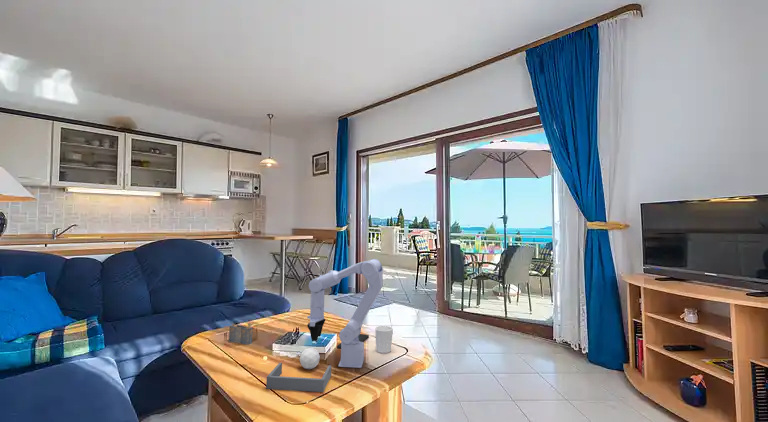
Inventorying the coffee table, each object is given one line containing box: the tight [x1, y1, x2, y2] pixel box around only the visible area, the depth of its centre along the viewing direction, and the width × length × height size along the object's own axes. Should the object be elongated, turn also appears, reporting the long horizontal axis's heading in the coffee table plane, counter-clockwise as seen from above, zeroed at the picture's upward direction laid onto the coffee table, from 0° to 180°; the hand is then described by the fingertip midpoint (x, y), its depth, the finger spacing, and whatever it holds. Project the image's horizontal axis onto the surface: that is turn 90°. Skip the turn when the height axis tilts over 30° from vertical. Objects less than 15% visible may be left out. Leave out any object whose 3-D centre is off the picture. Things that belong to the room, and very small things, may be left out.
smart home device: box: [336, 333, 370, 350], centre depth 162 cm, size 8×2×20 cm
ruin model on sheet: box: [228, 321, 254, 346], centre depth 159 cm, size 11×3×10 cm, turn 70°
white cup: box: [374, 325, 394, 354], centre depth 153 cm, size 8×8×10 cm
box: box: [265, 362, 332, 393], centre depth 121 cm, size 20×12×4 cm, turn 86°
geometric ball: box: [299, 347, 321, 370], centre depth 133 cm, size 8×8×8 cm
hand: (316, 338), depth 142 cm, fingers open, 5 cm apart
